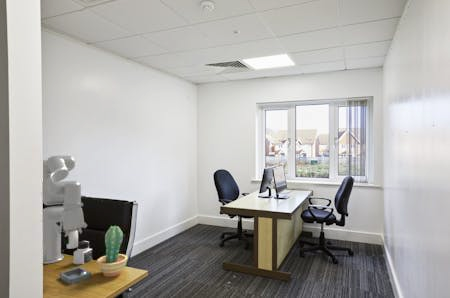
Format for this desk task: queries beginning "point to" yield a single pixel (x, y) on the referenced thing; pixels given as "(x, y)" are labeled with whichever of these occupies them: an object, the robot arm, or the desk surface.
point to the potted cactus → (112, 253)
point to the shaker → (73, 238)
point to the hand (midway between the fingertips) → (72, 242)
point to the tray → (74, 275)
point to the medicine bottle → (83, 253)
